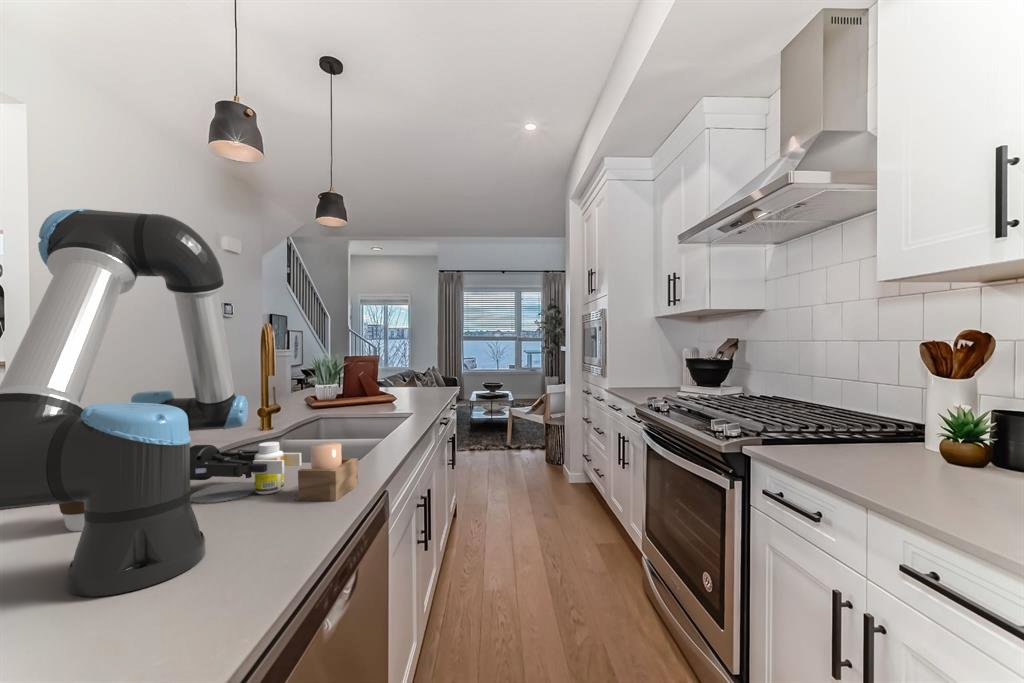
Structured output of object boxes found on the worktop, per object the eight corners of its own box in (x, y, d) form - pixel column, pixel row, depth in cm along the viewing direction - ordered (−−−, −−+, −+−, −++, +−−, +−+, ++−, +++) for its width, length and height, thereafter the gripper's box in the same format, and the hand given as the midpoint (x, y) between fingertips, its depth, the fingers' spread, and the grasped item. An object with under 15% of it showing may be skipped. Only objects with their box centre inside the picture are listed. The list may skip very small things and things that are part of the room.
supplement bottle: (273, 485, 101) (272, 439, 101) (289, 488, 99) (289, 442, 99) (249, 493, 96) (248, 445, 96) (265, 496, 94) (265, 447, 94)
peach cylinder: (333, 497, 93) (332, 448, 93) (305, 497, 93) (305, 448, 93) (347, 488, 99) (346, 442, 99) (321, 487, 99) (320, 442, 99)
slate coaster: (230, 504, 90) (230, 501, 90) (174, 503, 91) (174, 500, 91) (268, 485, 102) (268, 482, 102) (219, 484, 103) (219, 482, 103)
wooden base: (336, 500, 91) (335, 471, 91) (293, 500, 92) (293, 470, 92) (358, 485, 101) (357, 458, 101) (319, 484, 101) (319, 457, 101)
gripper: (224, 467, 109) (315, 468, 106) (155, 493, 90) (264, 495, 88) (223, 436, 109) (315, 436, 106) (155, 455, 90) (263, 456, 88)
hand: (291, 463), depth 97 cm, fingers closed on supplement bottle, 6 cm apart
